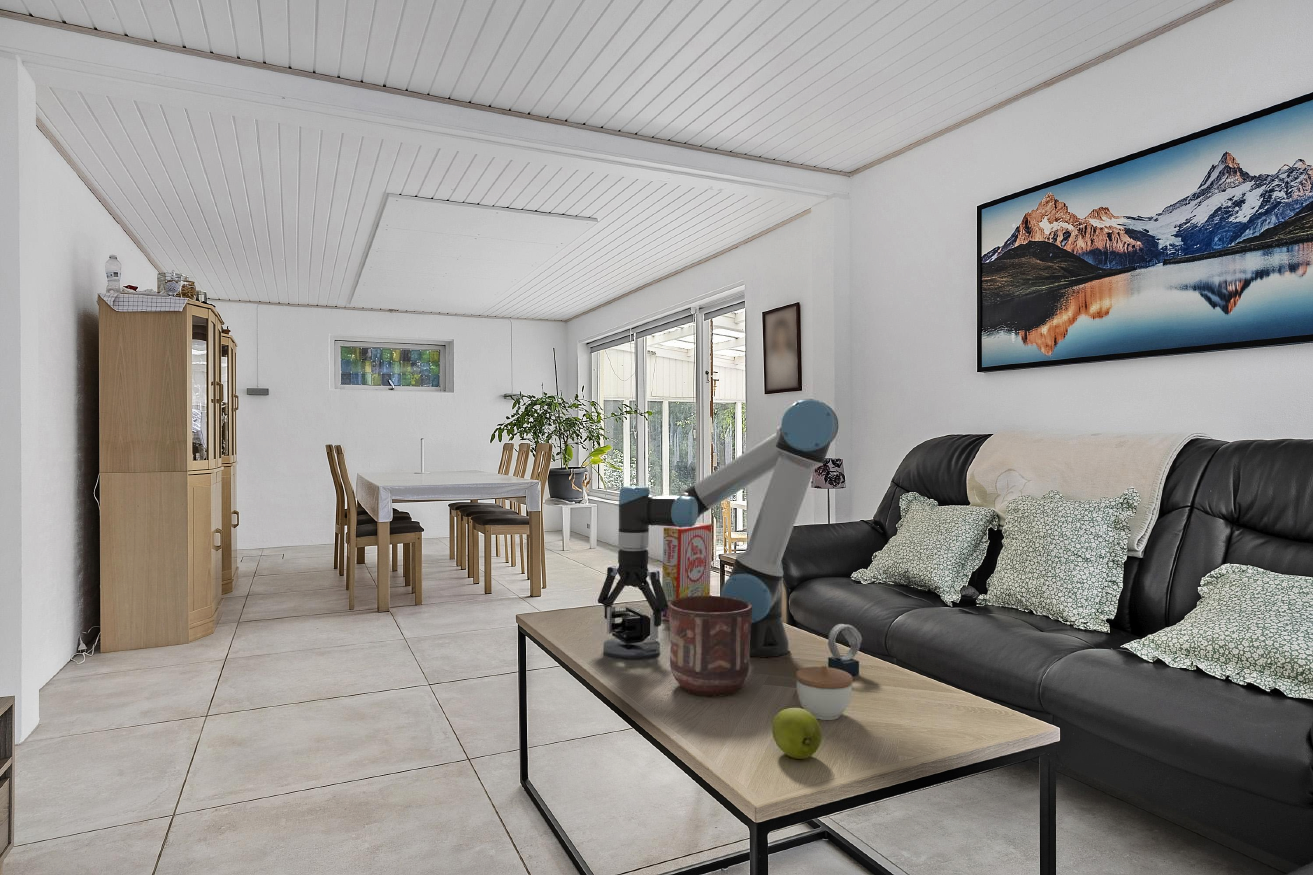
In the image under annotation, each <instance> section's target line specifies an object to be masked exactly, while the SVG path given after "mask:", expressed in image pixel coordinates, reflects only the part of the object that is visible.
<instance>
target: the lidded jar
mask: <svg viewBox="0 0 1313 875" xmlns="http://www.w3.org/2000/svg"><path fill="white" fill-rule="evenodd" d="M795 678H796V694H797V698H798V701H799V703H800V705H801V707H802V709H805V710H807V711H809V712H810V713H811V714H812V715H813V716H814V717H815V718H816V720H820V721H821V720H822V721H833V720H837V719H839V718H840V716H841V715H842V714H843V713H844V712H845V711H846V710H847V708H848V707H849V705H850V701H851V698H852V690H853V676H851V675H850V674H849V673H847V672H845V671H842V670H839V669H835V668H829V667H828V665H821V666H810V667H808V666H807V667H804V668H803V667H802V668H800V669H798V670H797V671H796V674H795Z"/></svg>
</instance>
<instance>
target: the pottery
mask: <svg viewBox="0 0 1313 875" xmlns="http://www.w3.org/2000/svg"><path fill="white" fill-rule="evenodd" d="M668 615H669V620H668V623H669V636H670V638H669V639H670V649H669V650H670V651H669V666H670V671H671V673H672V676H673V677H674V679H675V682H677V683H678V685H680V686H681V688H682V689H683V690H685V692H688V693H690V694H693V695H696V696H701V697H702V696H703V697H725V696H730V695H733V694H735V693H736V692H737V691H738V690H739V689H740V688H741V687H742V686H743V684H744V683H745V681H746V679H747V677H748V675H749V671H750V659H751V658H750V657H751V656H750V629H751V619H752V606H751V604H750V603H748V602H746V601H744V600H740V599H736V598H730V597H722V596H721V595H719V596H718V595H710V596H688V597H682V598H677V599H675V600H673V601H670V602H669V604H668Z"/></svg>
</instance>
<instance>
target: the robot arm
mask: <svg viewBox="0 0 1313 875" xmlns="http://www.w3.org/2000/svg"><path fill="white" fill-rule="evenodd" d="M838 431H839V419H838V416H837V414H836V412H835V411H834V410H833V408H831V407H830V406H829V405H827V404H826V403H825V402H823V401H820V400H818V399H813V398H806V399H801V400H798V401H795V402H794V403H793V404H791V405H790V406H789V407H788V408H787V409H786V411H784V414H783V416H782V418H781V423H780V425H779V426H777V429H776V432H775V433H774V434H772V435H771V436H769V437H767V438H765V439H764V440H762V441H761V442H760V443H758V444H756V445H755V446H753V447H752V448H750V449H748V450H746V452H744V453H742V454H741V455H738V456H737V457H736V458H733V459H732V460H730V462H728V463H726V464H725V465H723V466H722V467H720V468H719V469H717V470H715V471H714V472H712V473H711V474H709V475H707V476H705V477H704V478H703V479H701V480H699V481H698V482H696V483H695V484H693V485H691V486H690V487H688V488H687V489H685V490H684V491H682V492H679V493H677V494H673V495H656V494H651V492H650V488H649V487H648V486H642V485H628V486H627V485H626V486H623V487H621V488H620V489H619V495H618V496H619V497H618V498H619V499H618V537H617V538H618V545H617V546H618V548H619V549H618V551H617V552H618V554H617V563H618V567H617V566H615V565H612V566H608V567H607V569H606V577H605V580H604V583H603V585H602V588H601V590H600V593H599V596H598V599H597V603H598V604H600V605H603V607H604V616H603V617H604V619H605V620H606V634H607V635H610V634H612V633H614V632H613V631H612V629H611V624H612V623H616V618H612V612H613V611H616V605H614V602H615V601H616V600H617V598H618V597H619V595H620V594H621V593H622V592H623V589H624V588H625V587H633V588H638V590H640V592H641V593H642V595H643V596H644V598H645V600H646V601H647V603H648V606H649V607H650V609H651V611H652V613H650V615H649V617H650V636H649V638H650V640H651V641H653V640H656V641H657V639H659V627H661V625H662V619H661V613H662V612H664V611H666V610H668V603H667V600H666V597H665V594H664V591H663V588H662V581H661V576H660V575H661V574H660V573H661V572H660V571H659V570H649V567H648V566H649V550H648V549H647V548H648V547H649V533H650V532H649V531H650V528H649V527H650V526H657V527H659V526H661V527H679V528H682V527H692V526H694V525H695V524H696V522H697V521H698V518H700V516H701V515H703V514H705V513H706V512H709V510H711V509H712V508H714V507H716V506H718V505H719V504H721V503H722V502H724V501H725V500H727V499H729V498H730V497H732V496H733V495H736V494H737V493H738V492H740V491H741V490H743V489H745V488H747V487H748V486H750V485H751V484H753V483H754V482H757V481H758V480H760V479H761V478H763V477H764V476H766V475H767V474H770V473H771V472H772V471H773V472H772V475H771V478H770V481H769V484H768V487H767V489H766V493H765V494H764V497H763V501H762V503H761V507H760V509H759V512H758V515H757V516H756V520H755V523H754V525H753V529H752V531H751V535H750V537H749V539H748V542H747V546H746V548H745V551H744V552H741V553H739V554H737V555H736V557H735V560H734V563H733V566H732V568H731V570H730V574H729V577H728V579H726V581H725V582H724V583H723V586H722V587H721V592H720V596H722V597H730V598H736V599H740V600H744V601H746V602H748V603H750V604H751V606H752V619H751V629H750V657H757V658H771V657H779V656H783V655H786V654H787V653H788V652H789V640H788V636H787V633H786V629H785V626H784V622H783V615H782V614H783V577H784V569H783V562H782V559H783V557H784V554H785V551H786V548H787V546H788V543H789V540H790V537H791V535H792V531H793V529H794V526H795V523H796V520H797V518H798V516H799V513H800V509H801V507H802V504H803V501H804V498H805V497H806V493H807V490H808V487H809V485H810V481H811V479H812V476H813V473H814V471H815V469H817V468H819V467H820V466H823V465H824V463H825V460H826V456H827V454H828V451H829V449H830V445H831V444H832V442H833V441H834V440H835V439H836V437H837V434H838ZM617 575H618V576H619V578H618V581H617V582H616V583H615V584H616V585H615V586H614V587H613V585H614V582H615V579H616V576H617ZM647 579H648V580H650V583H649V581H648V580H647ZM650 585H651V586H650ZM612 587H613V589H612ZM651 587H652V588H651ZM611 589H612V590H611Z"/></svg>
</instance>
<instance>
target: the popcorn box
mask: <svg viewBox="0 0 1313 875" xmlns="http://www.w3.org/2000/svg"><path fill="white" fill-rule="evenodd" d="M662 541H663V542H662V545H663V546H662V581H661V585H662V588H663V591H664V594H665V597H666V600H667V603H668V604H669V602H670V601H673V600H675V599H677V598H682V597H688V596H711V594H710V593H711V563H712V562H711V560H712V557H711V556H712V553H711V552H712V523H707V522H706V523H705V522H697V521H696V524H695V525H694V526H692V527H682V528H679V527H672V526H663V539H662ZM661 620H666V621H669V615H668V610H666V611H664V612H662V613H661Z"/></svg>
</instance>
